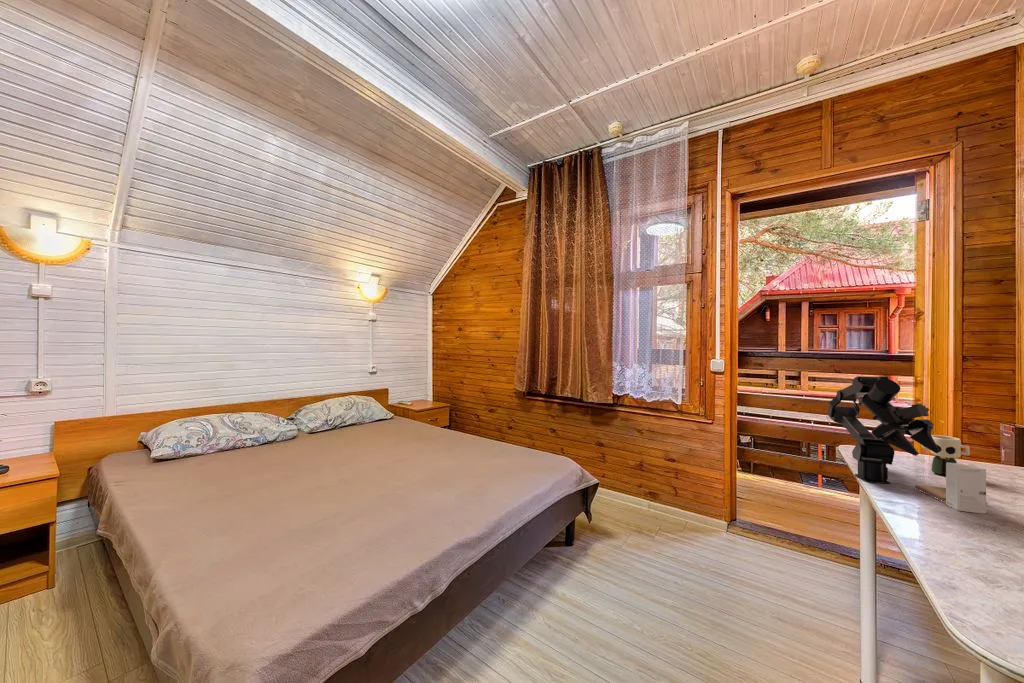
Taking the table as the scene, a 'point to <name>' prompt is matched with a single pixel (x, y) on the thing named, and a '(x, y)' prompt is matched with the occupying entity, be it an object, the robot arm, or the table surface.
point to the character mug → (946, 452)
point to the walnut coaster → (934, 491)
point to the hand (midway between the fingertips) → (927, 453)
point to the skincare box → (966, 487)
